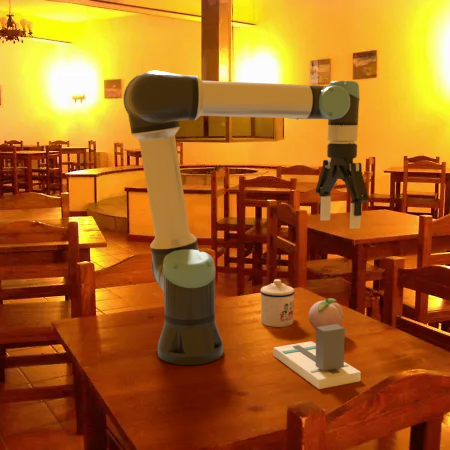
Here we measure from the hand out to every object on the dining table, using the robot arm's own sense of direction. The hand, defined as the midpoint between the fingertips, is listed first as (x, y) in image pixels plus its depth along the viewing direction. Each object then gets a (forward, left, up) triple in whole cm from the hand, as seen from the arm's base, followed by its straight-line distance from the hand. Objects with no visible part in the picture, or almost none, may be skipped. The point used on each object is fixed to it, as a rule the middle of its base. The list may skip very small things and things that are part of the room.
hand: (339, 224), depth 168 cm
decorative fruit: (-9, -9, -26) cm, 30 cm away
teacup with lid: (-14, +6, -26) cm, 31 cm away
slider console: (-22, -26, -26) cm, 43 cm away
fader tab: (-22, -32, -24) cm, 46 cm away
